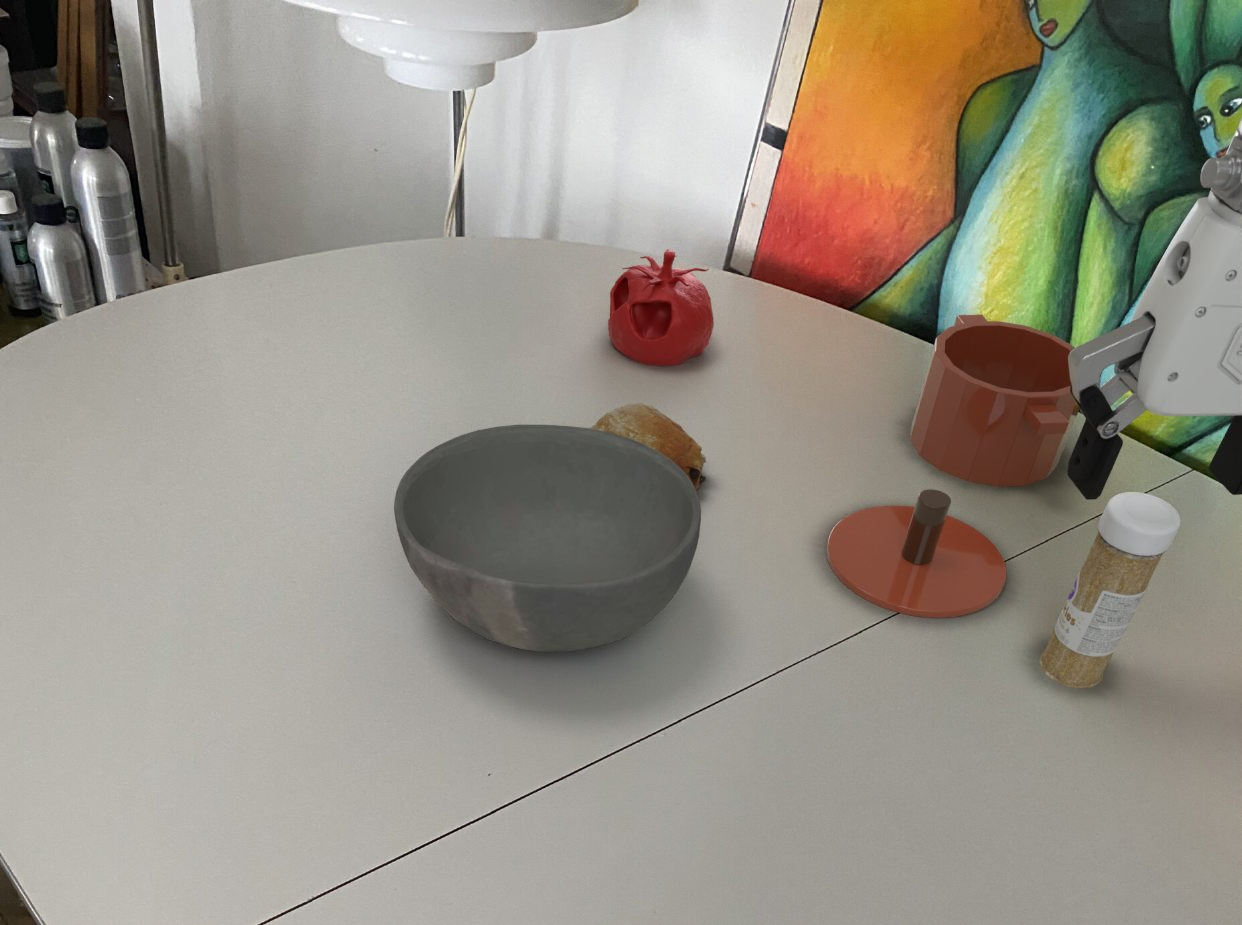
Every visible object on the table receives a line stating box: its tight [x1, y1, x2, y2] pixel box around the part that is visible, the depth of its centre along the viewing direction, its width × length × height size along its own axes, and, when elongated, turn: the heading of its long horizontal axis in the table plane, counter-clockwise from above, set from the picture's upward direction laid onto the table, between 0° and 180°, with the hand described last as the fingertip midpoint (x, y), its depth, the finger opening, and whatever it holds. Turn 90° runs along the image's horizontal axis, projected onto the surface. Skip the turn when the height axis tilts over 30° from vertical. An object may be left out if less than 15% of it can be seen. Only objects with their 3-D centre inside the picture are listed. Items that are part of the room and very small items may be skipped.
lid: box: [825, 489, 1007, 619], centre depth 90 cm, size 14×14×6 cm
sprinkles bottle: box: [1038, 491, 1181, 689], centre depth 80 cm, size 5×5×13 cm
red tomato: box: [607, 248, 715, 367], centre depth 109 cm, size 10×10×9 cm
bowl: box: [393, 424, 702, 653], centre depth 82 cm, size 20×20×10 cm
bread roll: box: [589, 402, 707, 492], centre depth 96 cm, size 10×10×8 cm
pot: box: [909, 314, 1080, 488], centre depth 102 cm, size 13×18×8 cm
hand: (1153, 485), depth 74 cm, fingers open, 9 cm apart
